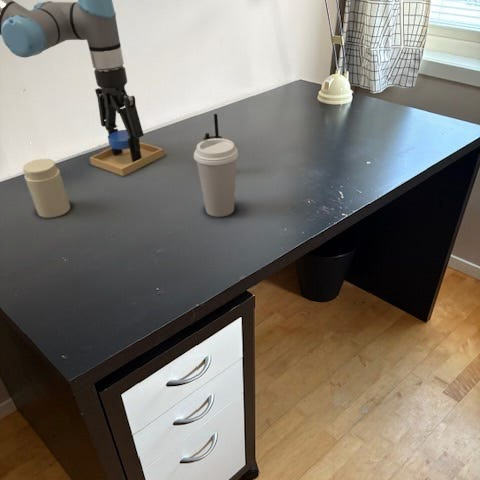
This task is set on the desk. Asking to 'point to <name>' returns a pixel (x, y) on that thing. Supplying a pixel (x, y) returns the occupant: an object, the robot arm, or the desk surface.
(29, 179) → the jar
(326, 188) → the desk surface
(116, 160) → the tray
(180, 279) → the desk surface
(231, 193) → the coffee cup
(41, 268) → the desk surface
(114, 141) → the lid
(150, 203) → the desk surface
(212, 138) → the walkie-talkie
